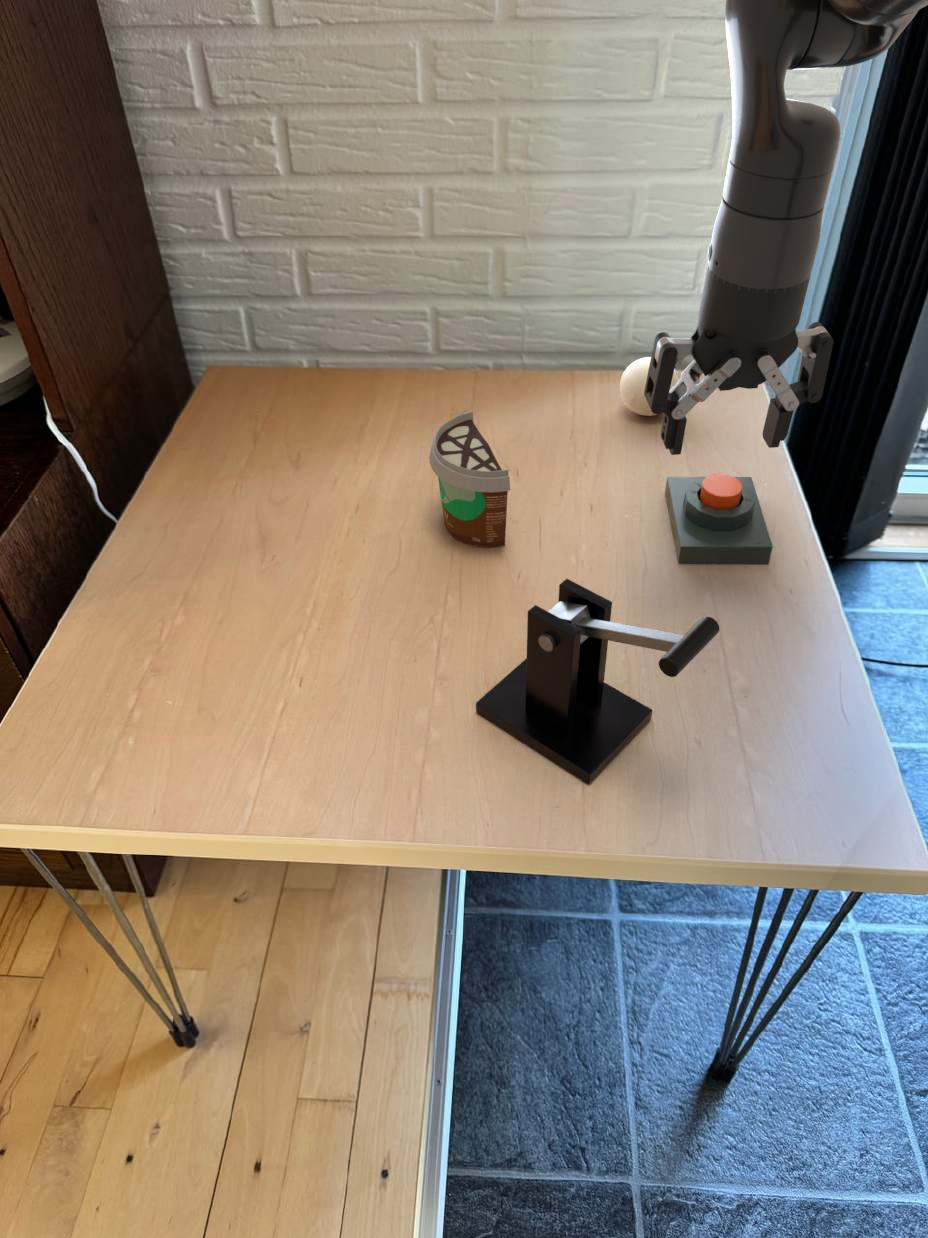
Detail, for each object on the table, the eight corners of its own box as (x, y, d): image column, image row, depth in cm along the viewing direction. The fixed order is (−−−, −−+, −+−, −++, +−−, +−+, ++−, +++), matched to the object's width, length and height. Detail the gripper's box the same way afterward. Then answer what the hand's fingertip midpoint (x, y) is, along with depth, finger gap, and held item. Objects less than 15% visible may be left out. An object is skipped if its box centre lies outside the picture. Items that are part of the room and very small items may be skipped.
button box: (768, 564, 97) (776, 532, 94) (678, 563, 97) (683, 532, 94) (748, 493, 105) (754, 462, 102) (664, 493, 106) (669, 462, 103)
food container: (419, 498, 106) (414, 419, 99) (472, 487, 107) (471, 408, 101) (452, 566, 98) (448, 485, 91) (509, 553, 99) (510, 472, 92)
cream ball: (688, 416, 117) (696, 366, 112) (636, 430, 115) (642, 380, 110) (658, 390, 121) (664, 341, 117) (608, 404, 119) (612, 354, 115)
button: (742, 510, 97) (745, 496, 96) (702, 510, 97) (705, 496, 96) (736, 487, 100) (739, 473, 99) (697, 487, 100) (699, 473, 99)
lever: (722, 640, 69) (716, 612, 68) (681, 684, 66) (674, 655, 65) (579, 615, 78) (572, 590, 77) (537, 652, 75) (529, 626, 74)
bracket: (651, 719, 82) (669, 609, 73) (588, 785, 77) (599, 675, 69) (540, 655, 88) (544, 546, 79) (475, 712, 83) (472, 603, 75)
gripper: (679, 291, 68) (651, 478, 79) (873, 278, 69) (818, 465, 80) (652, 246, 73) (630, 428, 85) (833, 235, 74) (787, 416, 86)
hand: (721, 446), depth 83 cm, fingers open, 8 cm apart
